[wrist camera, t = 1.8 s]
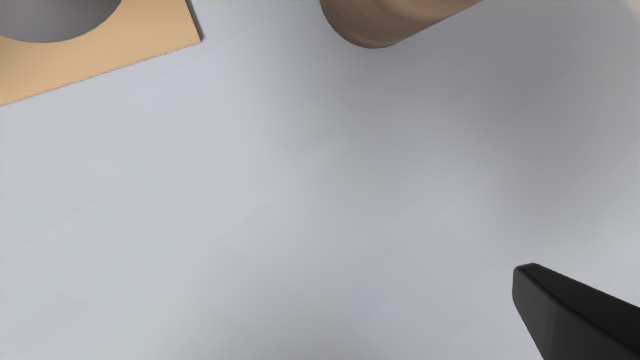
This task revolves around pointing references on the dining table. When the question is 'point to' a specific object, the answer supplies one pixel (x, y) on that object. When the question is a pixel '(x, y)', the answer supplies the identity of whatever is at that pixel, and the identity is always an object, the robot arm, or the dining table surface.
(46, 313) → the dining table surface
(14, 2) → the board
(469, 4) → the pepper mill
